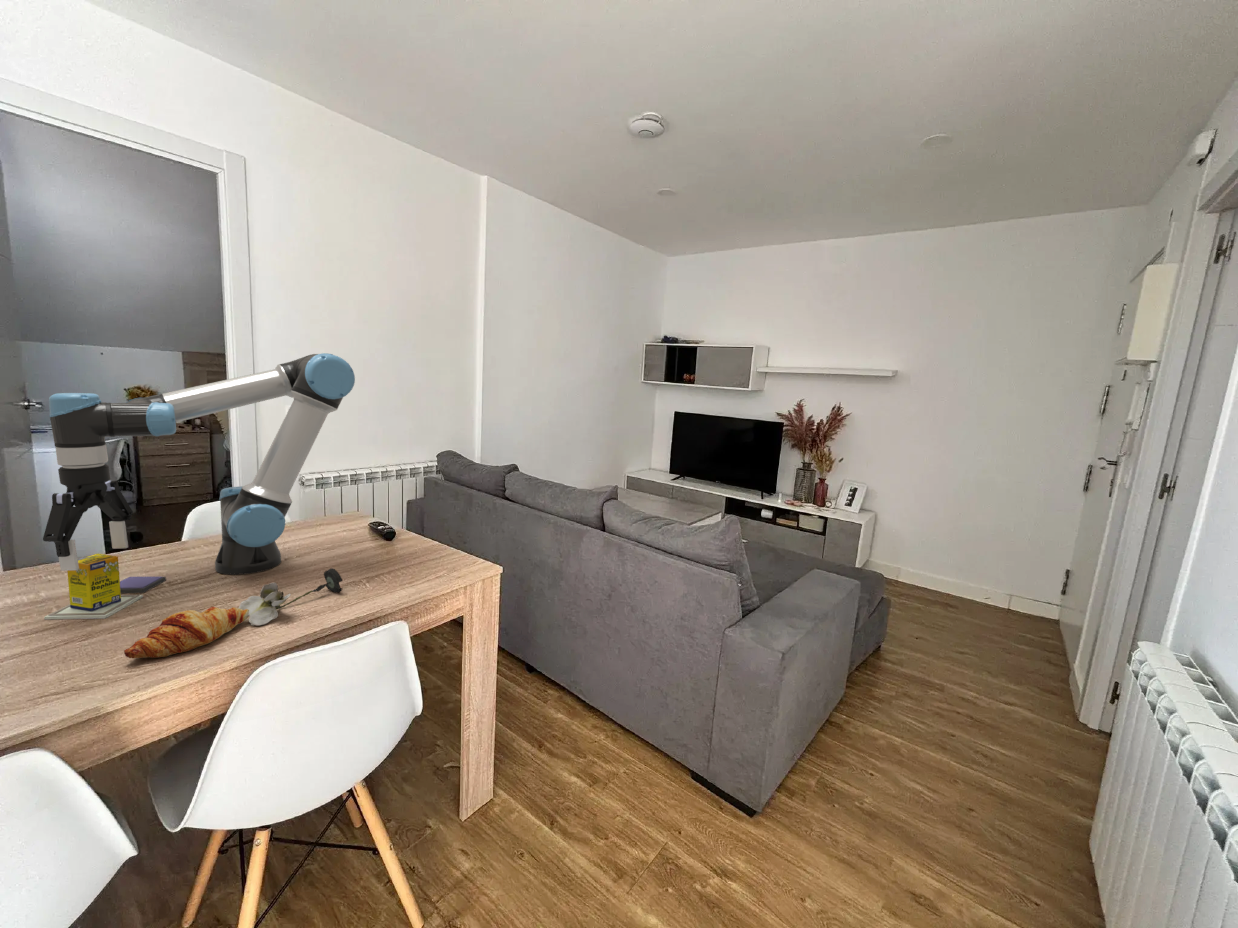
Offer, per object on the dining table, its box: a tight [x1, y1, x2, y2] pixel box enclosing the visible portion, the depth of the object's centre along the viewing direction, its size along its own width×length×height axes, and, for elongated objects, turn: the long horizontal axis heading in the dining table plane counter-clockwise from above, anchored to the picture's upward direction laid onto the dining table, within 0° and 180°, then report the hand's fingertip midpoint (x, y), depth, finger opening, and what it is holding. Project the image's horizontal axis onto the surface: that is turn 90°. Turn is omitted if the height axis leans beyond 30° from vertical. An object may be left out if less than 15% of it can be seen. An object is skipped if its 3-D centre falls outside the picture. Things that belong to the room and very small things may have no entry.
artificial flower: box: [238, 568, 343, 626], centre depth 119 cm, size 9×22×10 cm, turn 153°
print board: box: [44, 594, 144, 620], centre depth 113 cm, size 11×11×1 cm
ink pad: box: [120, 576, 167, 594], centre depth 124 cm, size 8×8×1 cm
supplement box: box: [66, 553, 122, 611], centre depth 112 cm, size 6×6×11 cm
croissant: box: [123, 606, 249, 659], centre depth 102 cm, size 21×10×8 cm, turn 157°
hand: (96, 558), depth 111 cm, fingers open, 13 cm apart
